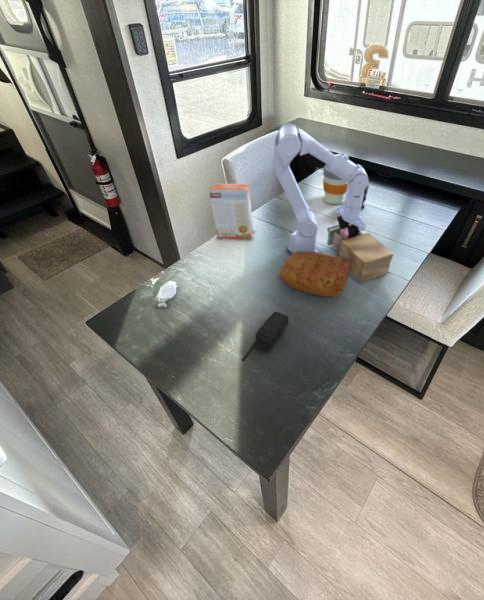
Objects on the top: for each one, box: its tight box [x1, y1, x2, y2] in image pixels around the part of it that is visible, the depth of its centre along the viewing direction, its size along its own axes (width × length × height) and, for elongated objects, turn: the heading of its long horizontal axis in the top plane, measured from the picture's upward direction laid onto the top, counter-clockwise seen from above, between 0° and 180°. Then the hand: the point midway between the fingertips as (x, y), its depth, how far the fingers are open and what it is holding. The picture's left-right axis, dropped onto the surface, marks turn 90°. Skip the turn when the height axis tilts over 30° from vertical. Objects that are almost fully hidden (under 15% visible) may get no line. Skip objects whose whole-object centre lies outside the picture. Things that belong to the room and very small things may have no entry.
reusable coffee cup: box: [322, 163, 348, 205], centre depth 141 cm, size 13×12×15 cm
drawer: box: [326, 223, 363, 254], centre depth 117 cm, size 17×10×7 cm, turn 24°
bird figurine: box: [155, 280, 180, 308], centre depth 102 cm, size 5×7×10 cm
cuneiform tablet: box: [278, 252, 351, 298], centre depth 104 cm, size 22×17×8 cm
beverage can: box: [361, 184, 370, 211], centre depth 137 cm, size 7×7×12 cm
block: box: [339, 228, 349, 240], centre depth 115 cm, size 4×4×4 cm
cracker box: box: [208, 182, 254, 240], centre depth 121 cm, size 14×6×21 cm, turn 84°
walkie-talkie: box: [241, 311, 289, 363], centre depth 88 cm, size 6×6×20 cm
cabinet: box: [338, 232, 394, 283], centre depth 110 cm, size 14×12×9 cm
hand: (347, 237), depth 116 cm, fingers closed on block, 4 cm apart
